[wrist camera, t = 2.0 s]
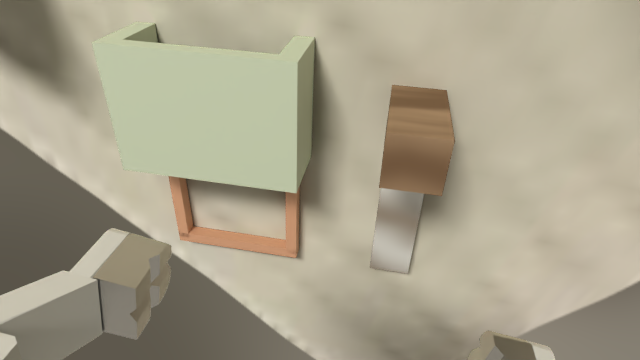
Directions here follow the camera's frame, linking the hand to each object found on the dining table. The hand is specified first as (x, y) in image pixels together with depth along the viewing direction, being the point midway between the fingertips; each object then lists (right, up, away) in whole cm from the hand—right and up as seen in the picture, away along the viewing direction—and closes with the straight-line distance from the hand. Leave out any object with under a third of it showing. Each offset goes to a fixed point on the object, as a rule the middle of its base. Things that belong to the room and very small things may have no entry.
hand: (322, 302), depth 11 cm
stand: (-8, +10, +24) cm, 28 cm away
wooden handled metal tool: (+7, +3, +26) cm, 27 cm away
